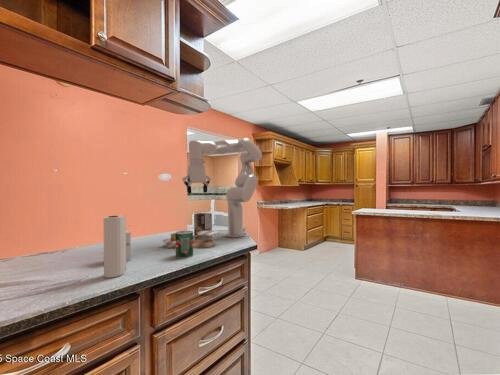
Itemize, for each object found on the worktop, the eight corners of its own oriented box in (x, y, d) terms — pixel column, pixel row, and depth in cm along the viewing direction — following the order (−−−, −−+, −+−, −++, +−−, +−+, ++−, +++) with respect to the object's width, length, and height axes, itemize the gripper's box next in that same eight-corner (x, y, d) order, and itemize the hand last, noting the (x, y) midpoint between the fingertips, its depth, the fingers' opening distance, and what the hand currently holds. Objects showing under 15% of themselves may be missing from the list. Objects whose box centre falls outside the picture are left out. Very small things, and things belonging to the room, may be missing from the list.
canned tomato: (196, 255, 114) (196, 231, 114) (182, 259, 108) (182, 234, 108) (186, 252, 119) (186, 230, 119) (172, 256, 113) (171, 232, 113)
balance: (160, 248, 127) (160, 235, 127) (166, 243, 139) (166, 231, 139) (218, 247, 129) (218, 234, 129) (219, 242, 141) (219, 230, 141)
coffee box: (212, 239, 148) (212, 213, 148) (205, 242, 142) (204, 214, 142) (201, 238, 153) (201, 212, 153) (193, 240, 147) (193, 213, 147)
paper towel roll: (103, 279, 84) (103, 217, 85) (104, 274, 90) (103, 216, 90) (126, 275, 88) (126, 216, 88) (126, 270, 93) (125, 214, 93)
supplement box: (112, 264, 101) (112, 234, 101) (106, 261, 106) (106, 232, 106) (131, 260, 107) (130, 231, 107) (124, 257, 112) (124, 229, 112)
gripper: (206, 163, 147) (207, 192, 147) (179, 162, 136) (180, 193, 136) (213, 162, 141) (214, 192, 141) (184, 161, 130) (185, 193, 130)
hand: (197, 192), depth 139 cm, fingers open, 9 cm apart
